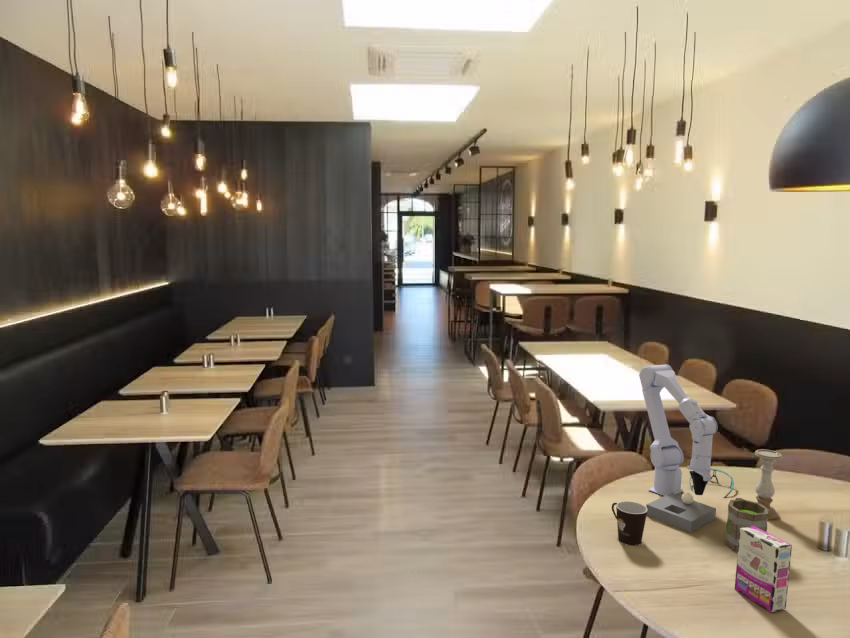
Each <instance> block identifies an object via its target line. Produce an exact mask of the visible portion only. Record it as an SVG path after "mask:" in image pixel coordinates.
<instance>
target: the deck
mask: <svg viewBox="0 0 850 638" xmlns="http://www.w3.org/2000/svg"><path fill="white" fill-rule="evenodd" d="M681 497H682V495H679V494H674V493H670V494H668V495H666V496H661V497H659V498H658V499H655V500H653V501H651V502H648V503H646V505H645V507H647V509H648V511H647V516H646V517H650V518H652V517H653V519H656V520H658V521H660V522H663V523H666V524H668V525H671V526H673V527H676V528H678V529H681V530H683V531H686V532H688V533H692V532H694V531H696V530H698V529H700V528H702V527H703V526H705V525H707V524H709V523H710V522H713V521H715V520H716V517H717V508H716V507H713V506H711V505H707V504H704V503H701V502H699V501H696V500H694V499H693V502H692V503H690V504H685V503H684V502H683V501H682V499H681Z"/></svg>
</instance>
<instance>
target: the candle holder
mask: <svg viewBox="0 0 850 638" xmlns="http://www.w3.org/2000/svg"><path fill="white" fill-rule="evenodd" d="M754 456H756V457H758V458H759V459H760V461H761V462H762V465H761V466H760V469H761V476H760V480H759V481H758V482H757V484H756V485H755V488H754V490H755V493H756V496H755V499H756V501H757V503H760V504H762V505H763V506H765V507H767V508H768V509H769V512H768V517H767V521H768V520H769V521H771V520H772V521H773V520H777V519H778V518H779V512H778V511H777V510H776V509H775V508H774V507H773V506H771V504H772V503H773V500H774V499H773V498H772V497H774V495H775V493H776V492H775V487H774V485H773V481H772V476H773V475H772V473H773V472H774V471H775V468H774V467H773V464H774V463H776V461H779V460H782V459H783V455H782V454H781V453H779V452H778V451H775V450H770V449H765V448H764V449H763V448H761V449H757V450H755V451H754Z"/></svg>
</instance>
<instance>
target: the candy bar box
mask: <svg viewBox="0 0 850 638" xmlns="http://www.w3.org/2000/svg"><path fill="white" fill-rule="evenodd" d="M792 548H793V545H792V544H790V543H789V542H787V541H785V540H783V539H781V538H779V537H777V536H775V535H773V534H771V533H769V532H768V531H767V532H765V531H763V530H761V529H759V528H757V527H755V526H748V527H743V528H740V532H739V544H738V553H737V556H736V557H737V558H736V567H735V569H736V571H735V580H734V590H735V591H737V593H740V594H742V595H743V596H744V597H746V598H748V599H749V600H751V601H753V602H754V603H755V604H757V605H759V606H760V607H762V608H764V609H765V610H766V611H768V612H769V611H770V612H769V613H772V612H773V613H776V612H775V611H777V612H780V611H779V610H782V611H785V610H786V609H787V599H788V589H789V579H790V568H791V559H792V550H793V549H792ZM784 609H785V610H784Z"/></svg>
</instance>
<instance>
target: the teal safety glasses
mask: <svg viewBox="0 0 850 638" xmlns="http://www.w3.org/2000/svg"><path fill="white" fill-rule="evenodd" d="M710 468H711V471H713V472H712V475H711V480H713V478H715V480H716V482H717V483H720V482H719V480H718V477H717V474H716V473H717V472H719V473H722V474H724V475H726V476H728V477H729V478H730V485H725V486H726V487H728V488H730V490H729V491H728V492H727V493H726V494H725V495H724V496H723V497H722V498H723V499H725V498H727V497H728V496H729V495H730V494H731V493H732V492H733V489H734V486H735V485H734V484H735V483H734V478H733V477H732V476H731V475H730V474H728V472H725V471H723V470H721V469H717V468H712V467H710ZM691 481H692V477H691V476H690V478H689V487H690V489H691V491H692V492H694V488H693V486H692V483H691Z"/></svg>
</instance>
